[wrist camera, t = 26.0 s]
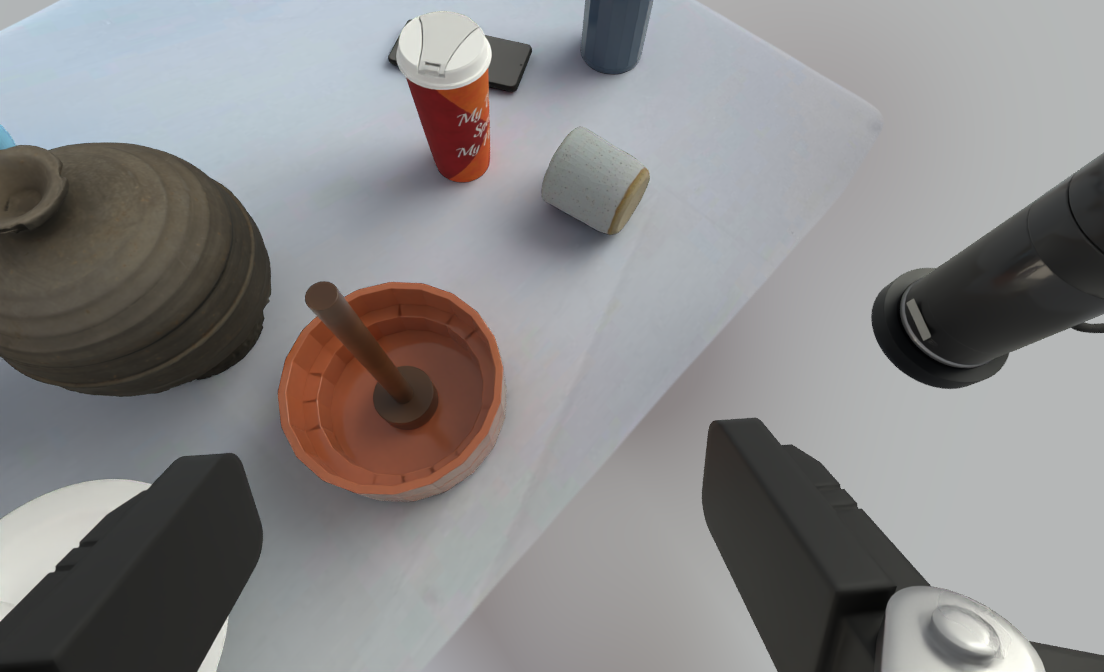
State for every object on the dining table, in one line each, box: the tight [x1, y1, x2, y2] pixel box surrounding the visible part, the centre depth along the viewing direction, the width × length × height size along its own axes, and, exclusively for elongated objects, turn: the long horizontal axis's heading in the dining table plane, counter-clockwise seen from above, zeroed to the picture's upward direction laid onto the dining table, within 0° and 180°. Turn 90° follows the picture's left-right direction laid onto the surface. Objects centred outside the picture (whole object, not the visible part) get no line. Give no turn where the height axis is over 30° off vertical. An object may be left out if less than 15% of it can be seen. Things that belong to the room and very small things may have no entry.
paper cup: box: [396, 11, 492, 182], centre depth 48 cm, size 8×8×14 cm
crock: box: [581, 0, 653, 74], centre depth 56 cm, size 7×7×10 cm
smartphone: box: [388, 19, 532, 92], centre depth 59 cm, size 7×1×15 cm
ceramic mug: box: [541, 127, 650, 235], centre depth 50 cm, size 11×8×8 cm
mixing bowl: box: [278, 282, 507, 502], centre depth 42 cm, size 16×16×6 cm
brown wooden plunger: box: [305, 282, 438, 430], centre depth 35 cm, size 5×5×20 cm
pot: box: [0, 143, 271, 397], centre depth 38 cm, size 18×18×20 cm
